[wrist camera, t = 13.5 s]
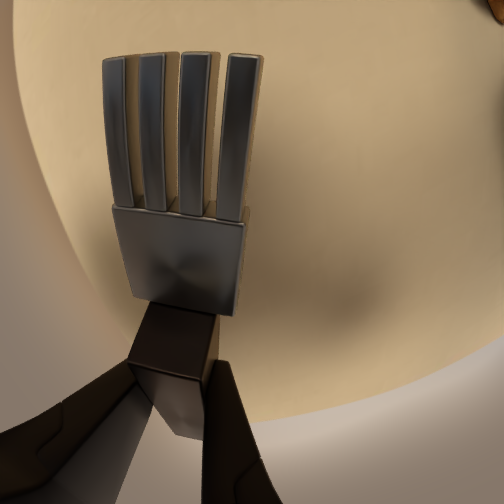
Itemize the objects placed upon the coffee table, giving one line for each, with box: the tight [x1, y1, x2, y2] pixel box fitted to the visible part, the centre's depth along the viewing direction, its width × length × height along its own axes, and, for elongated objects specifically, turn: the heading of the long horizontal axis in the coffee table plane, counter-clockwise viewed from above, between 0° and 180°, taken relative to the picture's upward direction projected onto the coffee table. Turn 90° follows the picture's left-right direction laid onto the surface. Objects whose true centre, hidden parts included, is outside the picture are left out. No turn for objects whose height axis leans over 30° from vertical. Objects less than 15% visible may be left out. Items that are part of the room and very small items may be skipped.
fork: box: [102, 51, 264, 441], centre depth 7 cm, size 13×2×2 cm, turn 172°
